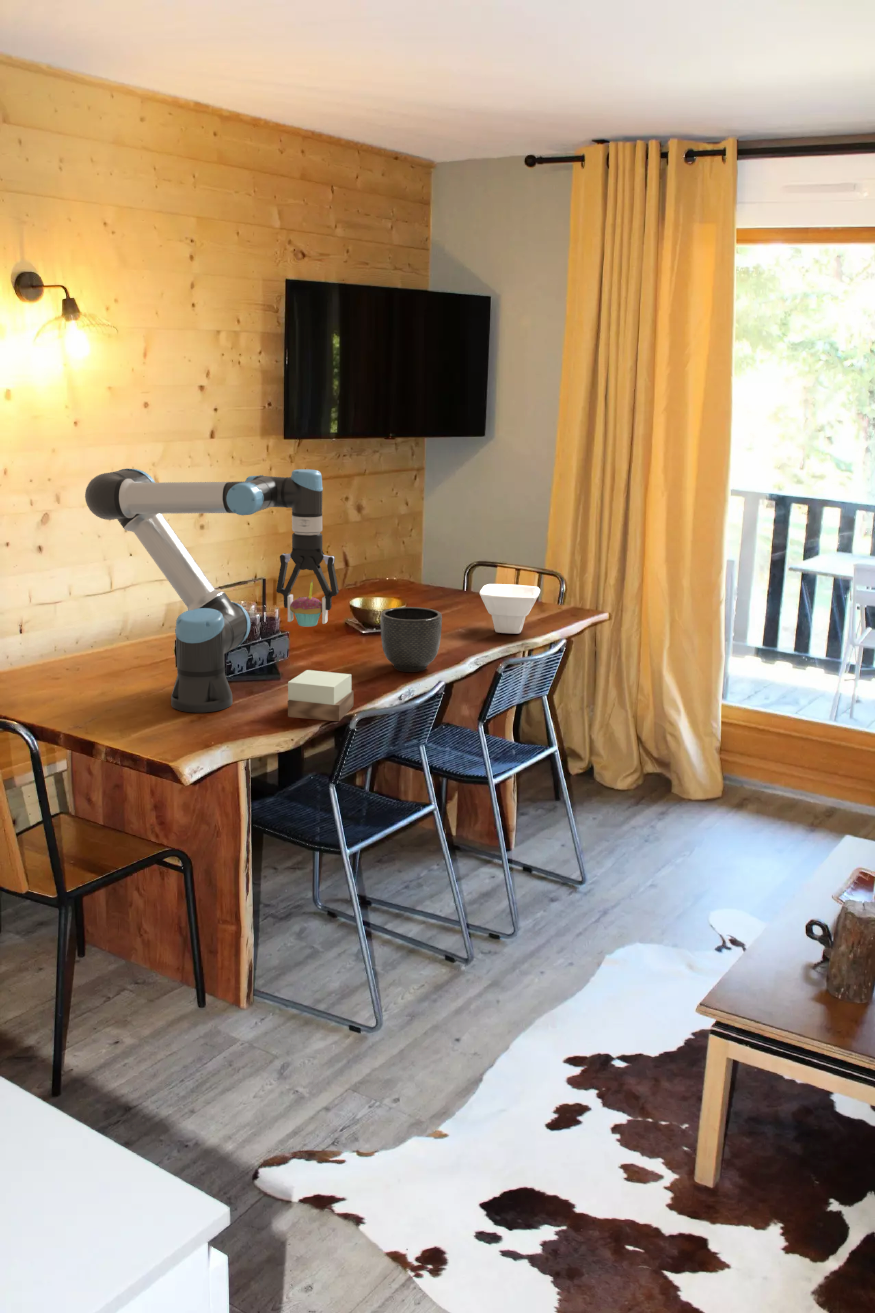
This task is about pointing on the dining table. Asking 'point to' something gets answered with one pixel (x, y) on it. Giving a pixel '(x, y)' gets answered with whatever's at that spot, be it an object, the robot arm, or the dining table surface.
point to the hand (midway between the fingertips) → (307, 621)
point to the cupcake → (307, 609)
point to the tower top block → (319, 687)
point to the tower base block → (321, 709)
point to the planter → (411, 637)
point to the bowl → (509, 605)
